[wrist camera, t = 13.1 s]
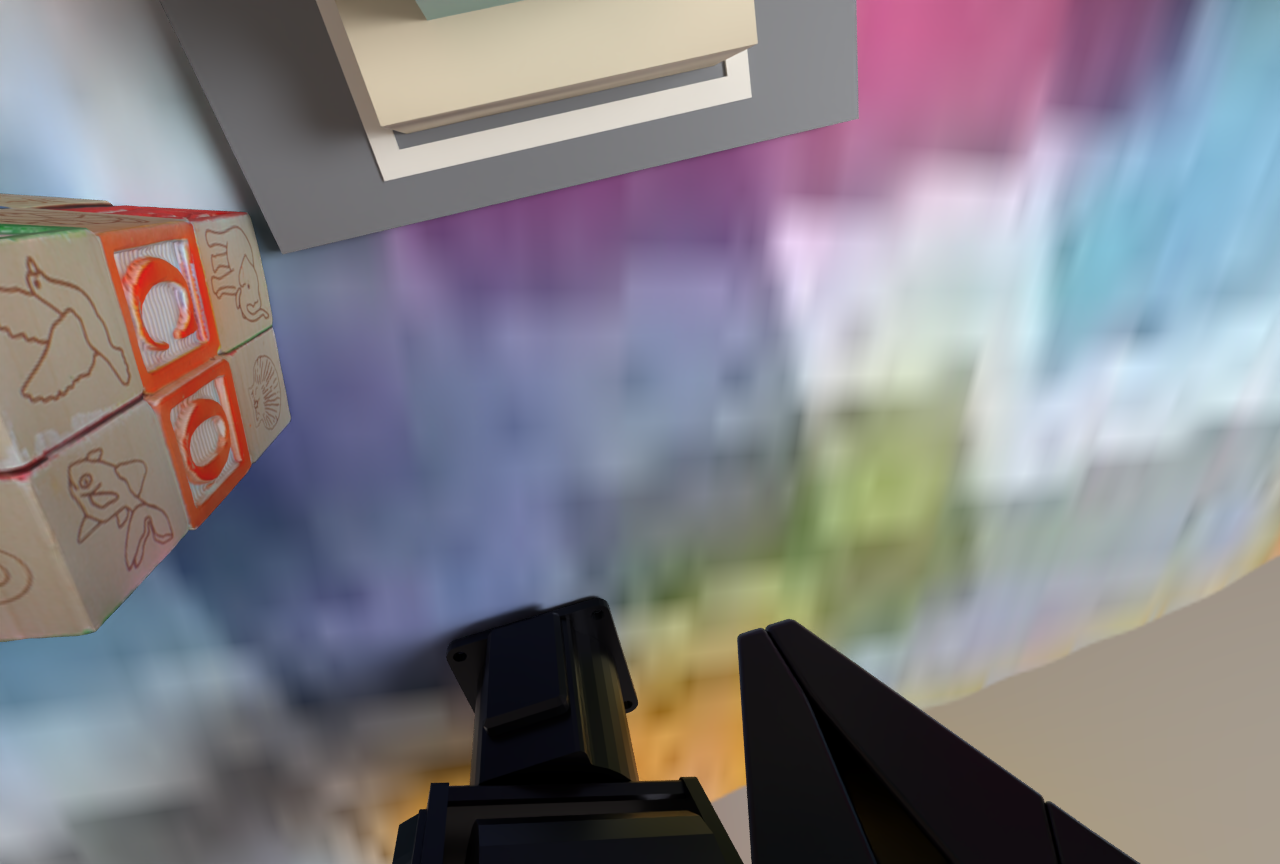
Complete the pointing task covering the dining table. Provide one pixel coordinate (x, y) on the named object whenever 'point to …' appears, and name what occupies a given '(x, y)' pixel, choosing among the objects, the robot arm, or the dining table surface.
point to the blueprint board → (492, 145)
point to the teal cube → (456, 6)
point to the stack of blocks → (121, 396)
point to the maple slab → (530, 52)
